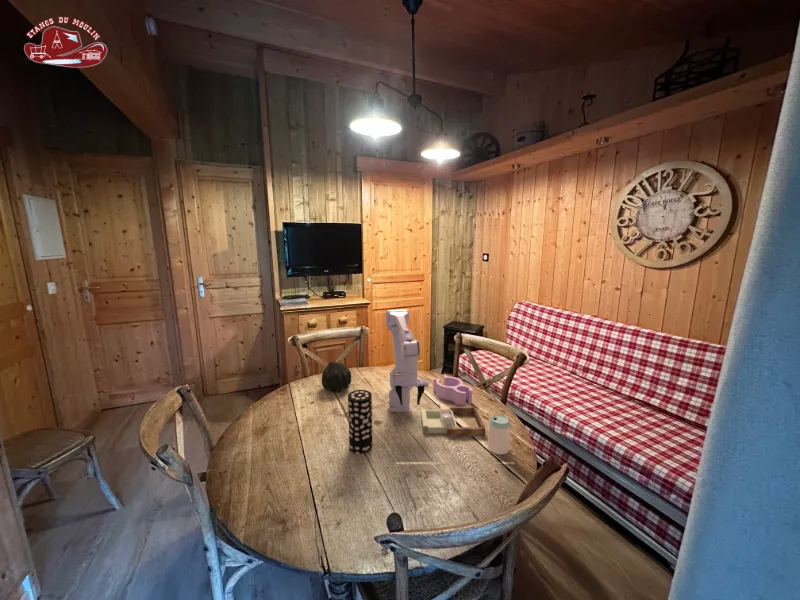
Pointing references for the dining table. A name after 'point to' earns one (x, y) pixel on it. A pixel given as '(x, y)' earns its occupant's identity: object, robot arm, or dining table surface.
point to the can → (499, 434)
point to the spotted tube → (360, 421)
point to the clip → (453, 390)
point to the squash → (336, 377)
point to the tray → (434, 421)
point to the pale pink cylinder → (444, 411)
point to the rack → (467, 430)
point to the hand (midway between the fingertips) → (409, 403)
